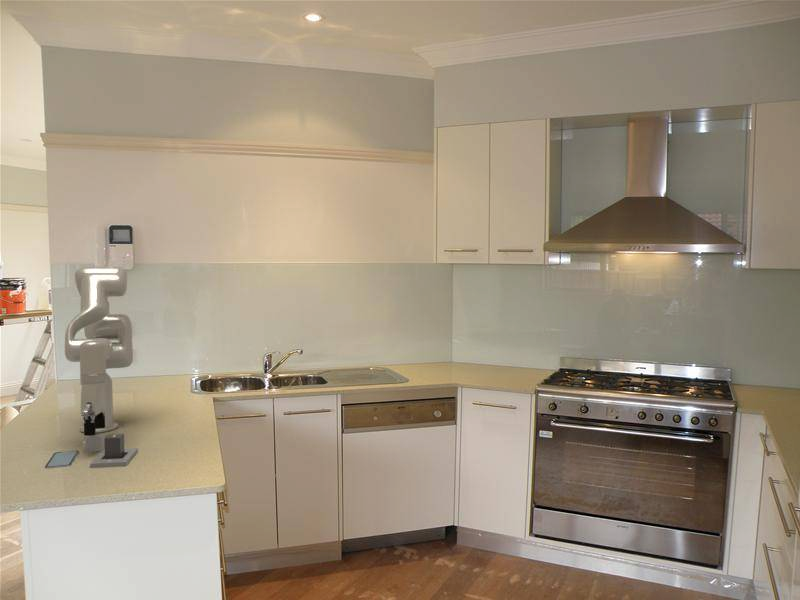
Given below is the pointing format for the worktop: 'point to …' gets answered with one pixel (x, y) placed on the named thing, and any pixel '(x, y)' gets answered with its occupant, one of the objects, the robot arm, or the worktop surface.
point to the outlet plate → (103, 462)
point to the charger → (114, 446)
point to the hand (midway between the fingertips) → (94, 431)
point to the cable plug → (94, 443)
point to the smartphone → (62, 459)
